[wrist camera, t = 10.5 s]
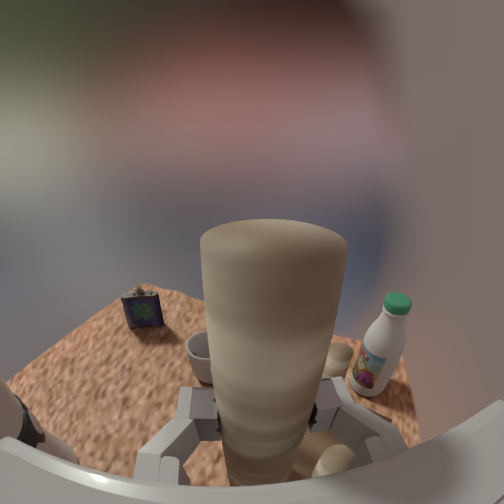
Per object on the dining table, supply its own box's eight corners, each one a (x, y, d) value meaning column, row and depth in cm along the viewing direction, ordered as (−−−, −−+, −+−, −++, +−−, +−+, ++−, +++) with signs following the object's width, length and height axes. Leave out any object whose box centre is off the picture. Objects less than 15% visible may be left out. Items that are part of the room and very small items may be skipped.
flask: (128, 329, 59) (118, 291, 55) (129, 322, 62) (120, 285, 58) (164, 326, 61) (157, 288, 57) (164, 319, 64) (157, 282, 60)
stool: (315, 527, 20) (353, 505, 13) (227, 470, 30) (218, 421, 23) (385, 428, 35) (425, 367, 28) (311, 392, 44) (328, 326, 38)
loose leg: (261, 512, 10) (299, 289, 4) (217, 481, 12) (170, 240, 6) (296, 475, 13) (367, 237, 7) (254, 450, 15) (262, 213, 9)
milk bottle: (377, 367, 49) (407, 285, 41) (390, 394, 42) (429, 310, 34) (344, 372, 48) (369, 287, 41) (354, 401, 41) (389, 314, 34)
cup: (241, 395, 44) (240, 366, 41) (198, 403, 42) (192, 375, 38) (225, 356, 53) (223, 327, 50) (187, 363, 51) (182, 333, 48)
